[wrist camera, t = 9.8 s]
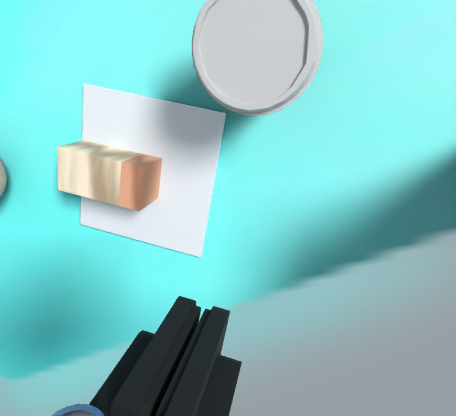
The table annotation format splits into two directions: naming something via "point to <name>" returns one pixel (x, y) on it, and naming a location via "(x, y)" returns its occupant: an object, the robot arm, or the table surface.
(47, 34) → the table surface
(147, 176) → the maple block
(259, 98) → the disposable coffee cup
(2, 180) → the decorative fruit
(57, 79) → the table surface
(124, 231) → the white square plate
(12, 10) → the table surface
